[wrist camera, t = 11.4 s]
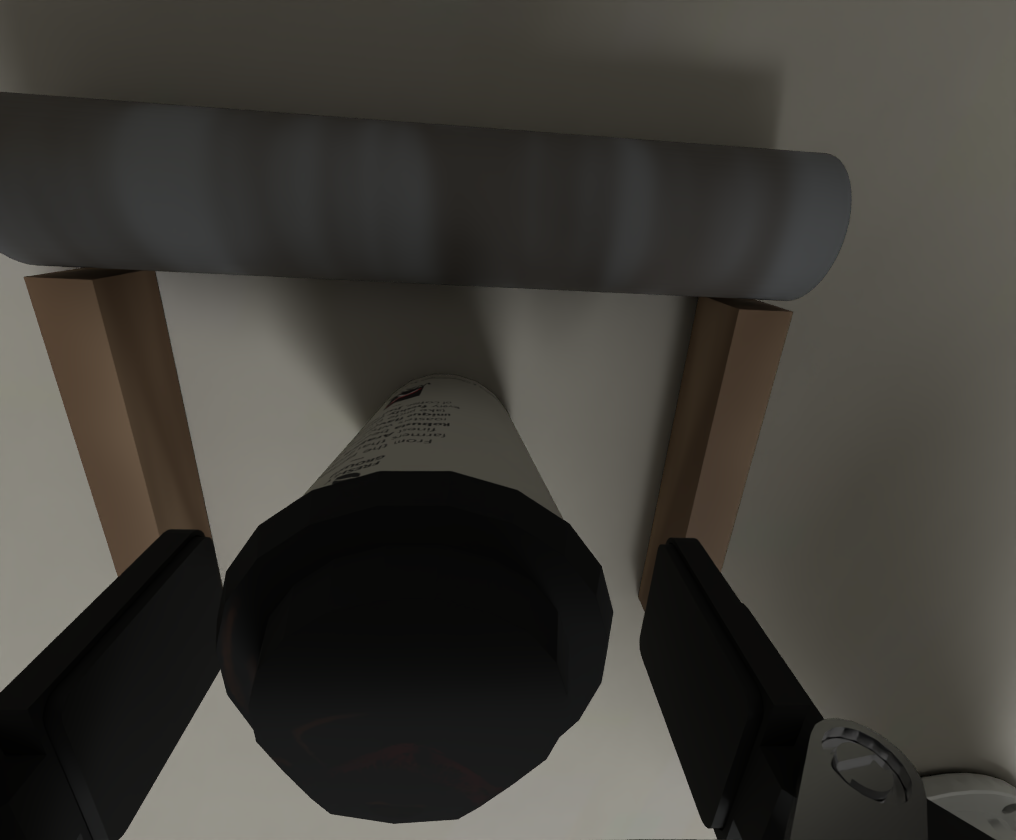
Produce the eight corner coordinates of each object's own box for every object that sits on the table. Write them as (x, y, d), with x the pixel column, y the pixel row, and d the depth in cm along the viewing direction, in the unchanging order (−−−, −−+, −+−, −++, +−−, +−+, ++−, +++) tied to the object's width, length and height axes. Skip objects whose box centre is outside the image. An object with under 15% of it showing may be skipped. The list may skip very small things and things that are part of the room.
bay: (777, 159, 14) (872, 144, 11) (674, 596, 20) (714, 672, 17) (57, 107, 12) (-93, 71, 9) (183, 599, 19) (120, 683, 15)
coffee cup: (346, 318, 15) (147, 492, 6) (569, 357, 16) (703, 561, 7) (332, 512, 18) (178, 845, 8) (524, 535, 18) (576, 858, 9)
